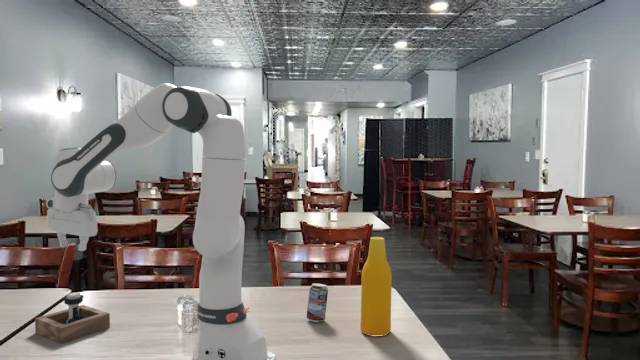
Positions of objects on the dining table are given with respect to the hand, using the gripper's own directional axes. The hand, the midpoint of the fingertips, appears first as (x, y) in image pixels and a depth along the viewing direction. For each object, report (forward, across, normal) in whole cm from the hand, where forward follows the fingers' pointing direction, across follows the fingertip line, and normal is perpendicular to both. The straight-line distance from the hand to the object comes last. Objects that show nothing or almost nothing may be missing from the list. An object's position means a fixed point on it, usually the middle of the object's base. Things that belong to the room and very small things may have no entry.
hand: (72, 248), depth 146 cm
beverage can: (+25, -56, -49) cm, 78 cm away
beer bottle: (+25, -76, -50) cm, 95 cm away
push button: (+24, 0, +1) cm, 24 cm away
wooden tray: (+25, 0, 0) cm, 25 cm away
